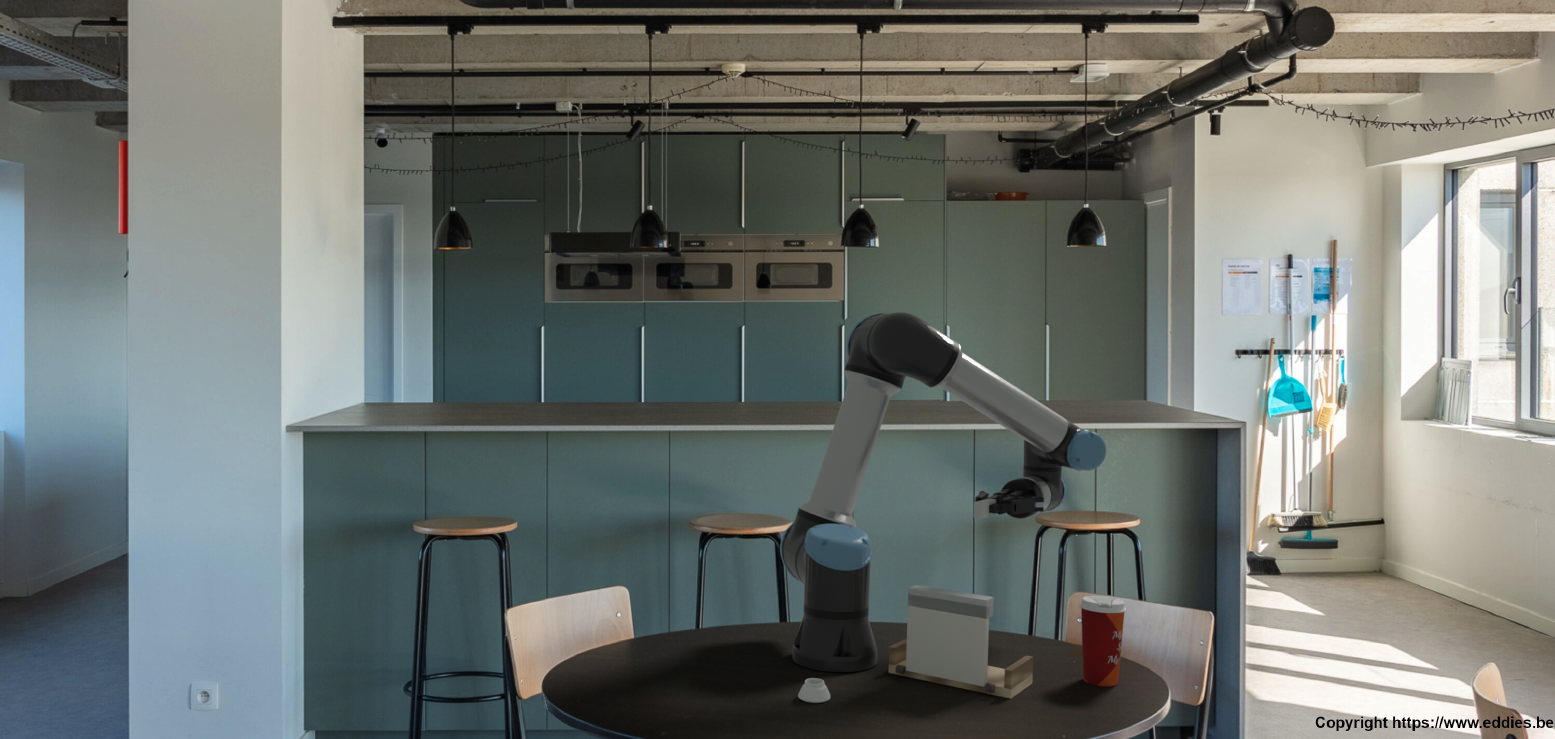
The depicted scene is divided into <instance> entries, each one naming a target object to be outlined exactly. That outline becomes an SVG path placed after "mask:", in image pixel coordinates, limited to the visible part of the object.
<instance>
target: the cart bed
mask: <svg viewBox="0 0 1555 739" xmlns="http://www.w3.org/2000/svg"><path fill="white" fill-rule="evenodd" d="M888 648H889V649H888V650H889V651H888V654H889V655H888V674H893V675H899V676H902V677H908V678H911V679H912V678H913V679H916V680H921V681H927V682H931V683H935V684H940V685H945V686H949V687H955V688H959V689H965V690H968V691H974V692H978V693H983V694H986V695H987V694H988V695H992V696H997V697H1000V698H1006V699H1010V700H1011V699H1012V698H1014V697H1015V696H1017V695H1018V694H1020V693H1021V692H1023V690H1025V689H1026V688H1028V687H1029V686H1031V685H1032V684H1033V679H1034V678H1033V675H1034V672H1033V669H1034V656H1031V655H1024V656H1023V657H1021V658H1020V659H1019V660H1017V661H1016V662H1014V663H1012V664H1010V665H1009V666H1007V667H1006V668H1001V667H996V666H992V665H988V670H987V683H986V685H985V687H983V686H978V685H973V684H968V683H964V682H959V681H954V680H949V679H944V678H940V677H935V676H930V675H925V674H920V673H916V672H911V671H906V650H907V638H905V639H902V640H900V641H898V642H897V643H894V644H892V645H890V646H889V647H888Z"/></svg>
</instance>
